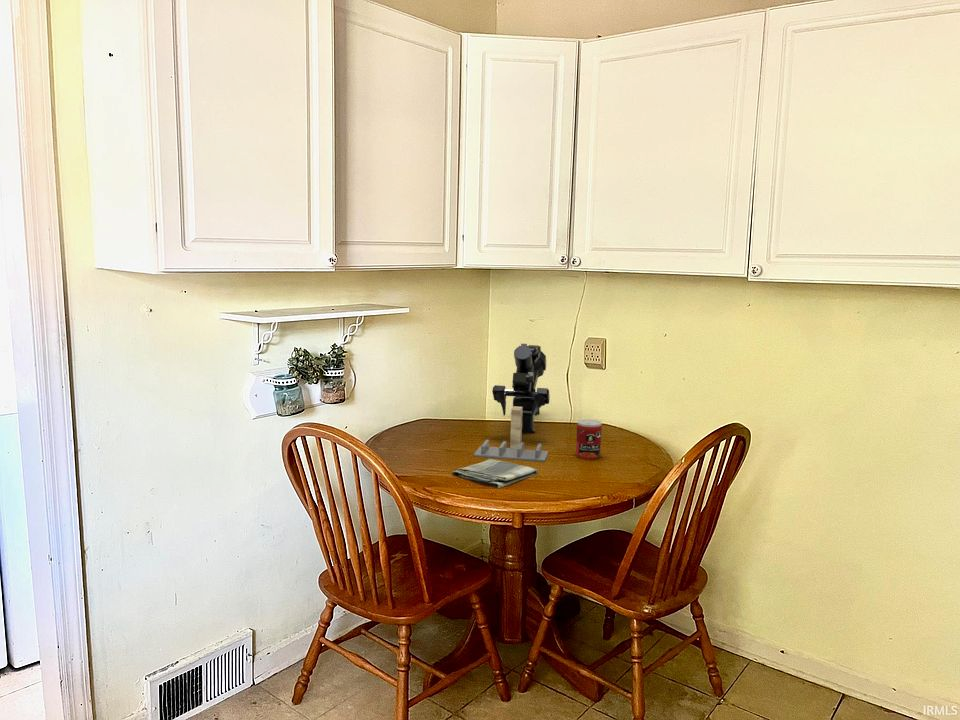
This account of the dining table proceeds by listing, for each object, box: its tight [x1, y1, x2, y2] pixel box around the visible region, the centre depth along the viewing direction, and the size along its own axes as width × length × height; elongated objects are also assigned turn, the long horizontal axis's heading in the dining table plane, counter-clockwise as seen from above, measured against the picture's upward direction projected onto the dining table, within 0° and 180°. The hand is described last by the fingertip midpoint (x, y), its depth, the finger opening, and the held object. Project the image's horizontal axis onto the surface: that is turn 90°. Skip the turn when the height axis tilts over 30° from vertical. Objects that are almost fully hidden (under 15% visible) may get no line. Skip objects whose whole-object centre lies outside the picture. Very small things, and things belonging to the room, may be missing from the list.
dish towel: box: [451, 458, 539, 489], centre depth 207 cm, size 19×18×3 cm
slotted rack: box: [473, 439, 549, 463], centre depth 227 cm, size 10×22×3 cm, turn 79°
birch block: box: [509, 405, 523, 449], centre depth 235 cm, size 4×3×13 cm, turn 169°
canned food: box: [575, 418, 603, 460], centre depth 227 cm, size 8×8×11 cm
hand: (517, 415), depth 237 cm, fingers open, 9 cm apart
